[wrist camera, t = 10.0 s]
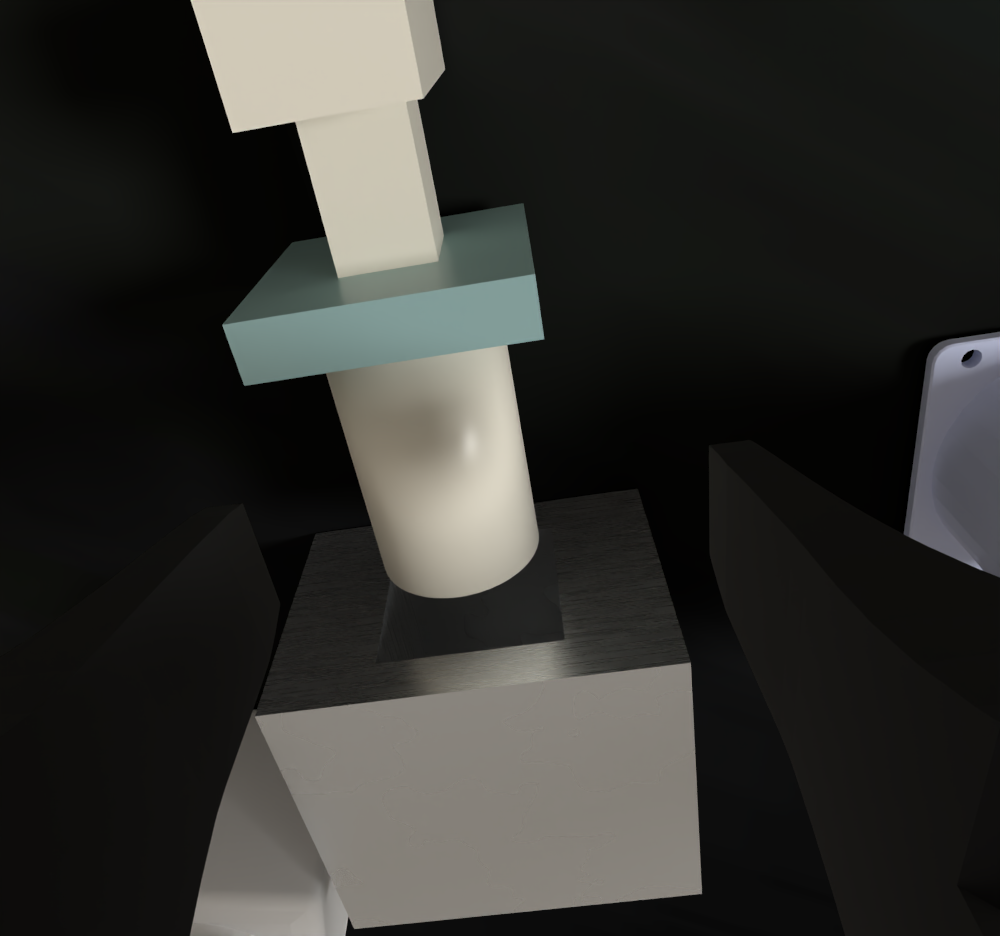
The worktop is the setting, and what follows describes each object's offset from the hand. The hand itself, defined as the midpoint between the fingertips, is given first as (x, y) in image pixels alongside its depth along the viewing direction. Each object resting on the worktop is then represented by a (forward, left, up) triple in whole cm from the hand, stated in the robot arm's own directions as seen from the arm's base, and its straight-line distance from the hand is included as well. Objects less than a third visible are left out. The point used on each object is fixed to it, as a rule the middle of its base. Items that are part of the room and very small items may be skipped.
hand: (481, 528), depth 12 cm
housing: (+1, +11, -10) cm, 14 cm away
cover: (+1, -1, -10) cm, 10 cm away
